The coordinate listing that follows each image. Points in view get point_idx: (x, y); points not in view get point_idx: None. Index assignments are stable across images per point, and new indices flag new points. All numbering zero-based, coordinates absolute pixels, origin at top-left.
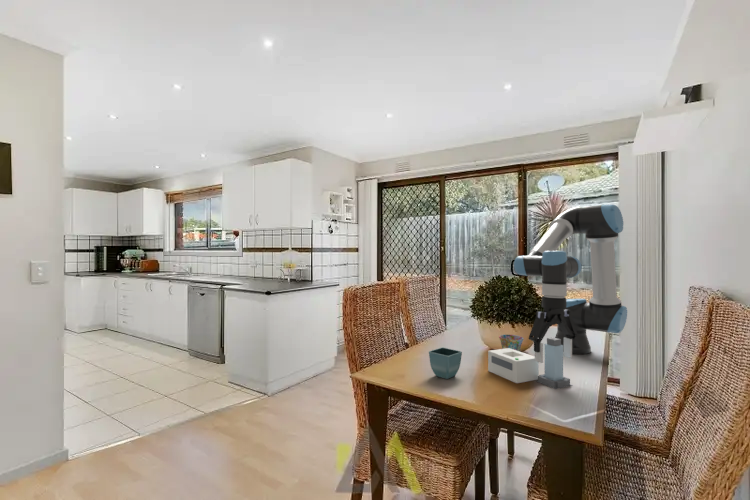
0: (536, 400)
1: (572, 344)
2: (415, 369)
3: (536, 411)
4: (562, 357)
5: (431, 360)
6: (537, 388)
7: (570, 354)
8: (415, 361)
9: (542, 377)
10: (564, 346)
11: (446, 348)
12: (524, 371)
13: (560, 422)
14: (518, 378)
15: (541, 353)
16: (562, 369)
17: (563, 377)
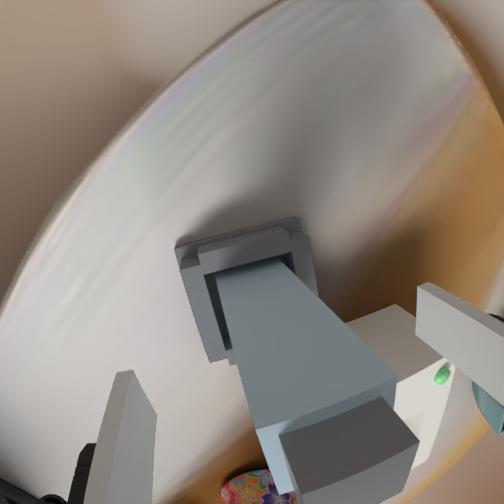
0: (420, 151)
1: (77, 465)
2: None
3: (453, 88)
4: (241, 346)
5: None
6: (349, 260)
7: (126, 390)
8: (458, 443)
9: None
10: (148, 470)
11: (501, 429)
12: (387, 342)
13: (427, 17)
14: (401, 317)
15: (472, 306)
16: (228, 302)
17: (201, 297)
